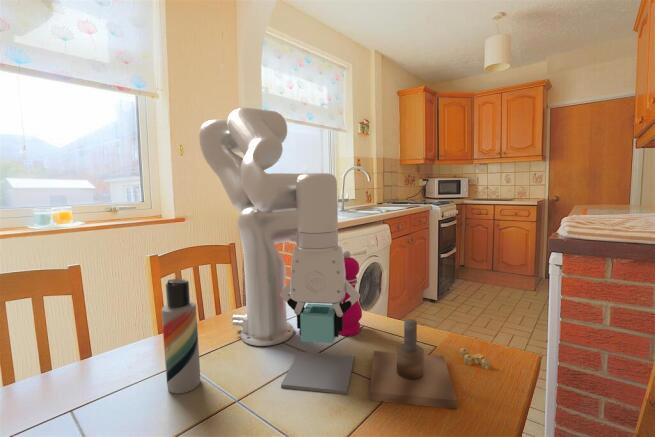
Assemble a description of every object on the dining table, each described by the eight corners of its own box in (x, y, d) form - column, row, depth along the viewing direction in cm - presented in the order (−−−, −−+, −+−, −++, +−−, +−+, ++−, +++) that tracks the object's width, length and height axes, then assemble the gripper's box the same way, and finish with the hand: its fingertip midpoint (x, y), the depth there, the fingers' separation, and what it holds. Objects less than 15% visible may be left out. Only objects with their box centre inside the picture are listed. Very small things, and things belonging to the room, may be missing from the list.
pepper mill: (363, 337, 81) (363, 254, 78) (332, 337, 81) (331, 254, 79) (360, 324, 88) (360, 248, 86) (333, 324, 88) (331, 248, 86)
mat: (281, 387, 62) (281, 384, 61) (298, 354, 73) (298, 351, 73) (347, 394, 59) (347, 390, 59) (354, 358, 71) (354, 355, 71)
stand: (369, 400, 58) (369, 336, 56) (373, 357, 71) (373, 305, 70) (456, 408, 55) (458, 342, 54) (443, 363, 69) (444, 309, 68)
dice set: (490, 372, 66) (490, 363, 66) (462, 368, 68) (462, 359, 68) (485, 359, 71) (486, 350, 71) (459, 356, 73) (459, 347, 72)
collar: (301, 341, 63) (300, 315, 62) (308, 327, 69) (308, 303, 68) (333, 343, 62) (332, 316, 61) (338, 329, 68) (337, 304, 67)
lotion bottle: (164, 383, 63) (156, 279, 61) (195, 372, 67) (189, 273, 65) (171, 398, 59) (163, 286, 57) (204, 386, 62) (198, 280, 60)
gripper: (266, 243, 61) (270, 339, 63) (362, 244, 58) (364, 345, 60) (279, 236, 69) (283, 322, 70) (365, 237, 65) (366, 327, 67)
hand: (320, 332), depth 65 cm, fingers closed on collar, 5 cm apart
